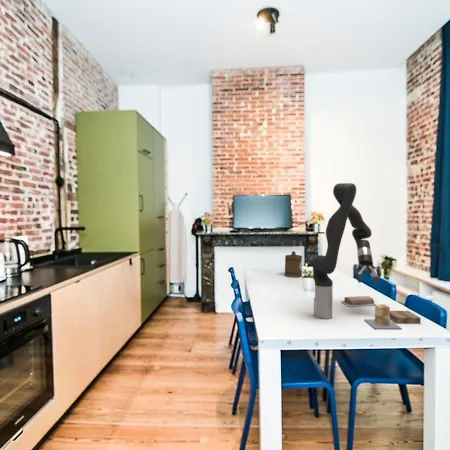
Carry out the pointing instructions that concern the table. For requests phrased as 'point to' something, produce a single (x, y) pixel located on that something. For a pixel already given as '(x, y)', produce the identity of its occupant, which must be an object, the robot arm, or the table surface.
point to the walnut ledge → (404, 317)
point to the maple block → (382, 314)
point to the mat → (376, 326)
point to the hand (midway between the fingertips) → (368, 283)
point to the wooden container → (293, 265)
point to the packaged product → (358, 301)
